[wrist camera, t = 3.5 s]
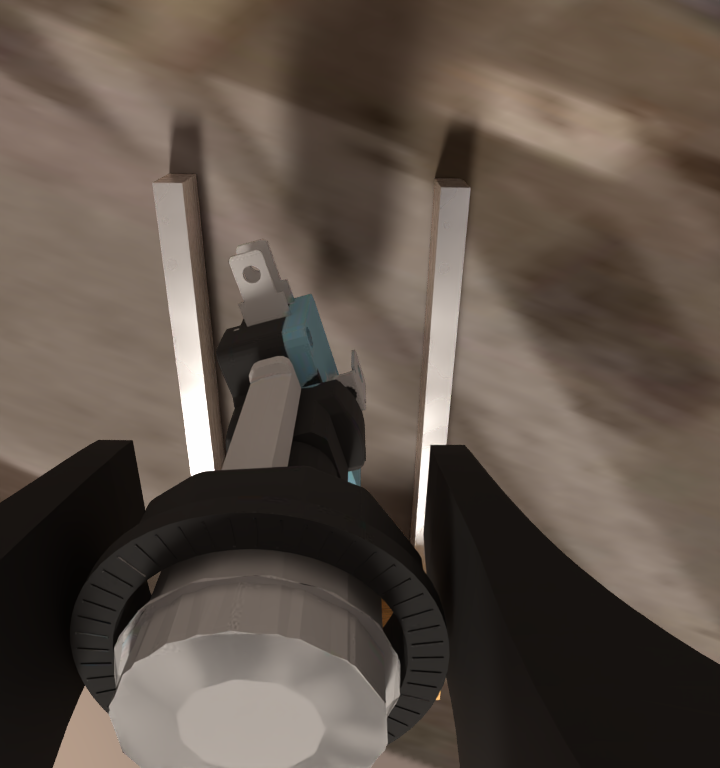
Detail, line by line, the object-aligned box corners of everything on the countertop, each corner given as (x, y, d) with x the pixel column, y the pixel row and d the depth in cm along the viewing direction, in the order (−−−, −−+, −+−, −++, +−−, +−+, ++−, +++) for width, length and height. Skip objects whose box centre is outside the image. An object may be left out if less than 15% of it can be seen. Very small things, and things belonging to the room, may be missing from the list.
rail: (462, 178, 18) (495, 213, 14) (425, 589, 25) (439, 699, 21) (168, 173, 18) (105, 207, 14) (218, 587, 25) (188, 696, 21)
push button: (156, 264, 15) (-124, 539, 6) (362, 205, 15) (369, 420, 6) (249, 475, 18) (146, 865, 9) (424, 434, 18) (493, 809, 9)
